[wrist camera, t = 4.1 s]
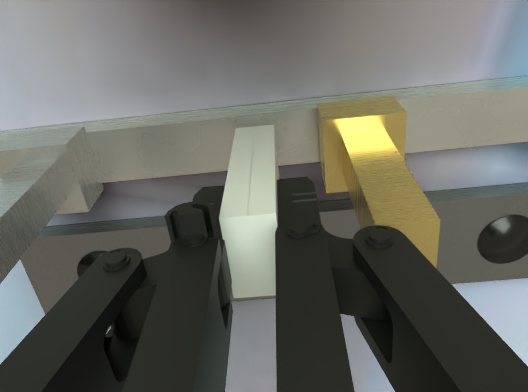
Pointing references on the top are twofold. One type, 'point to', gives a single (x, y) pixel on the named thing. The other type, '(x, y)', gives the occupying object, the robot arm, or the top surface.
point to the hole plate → (334, 222)
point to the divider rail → (220, 146)
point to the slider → (375, 168)
